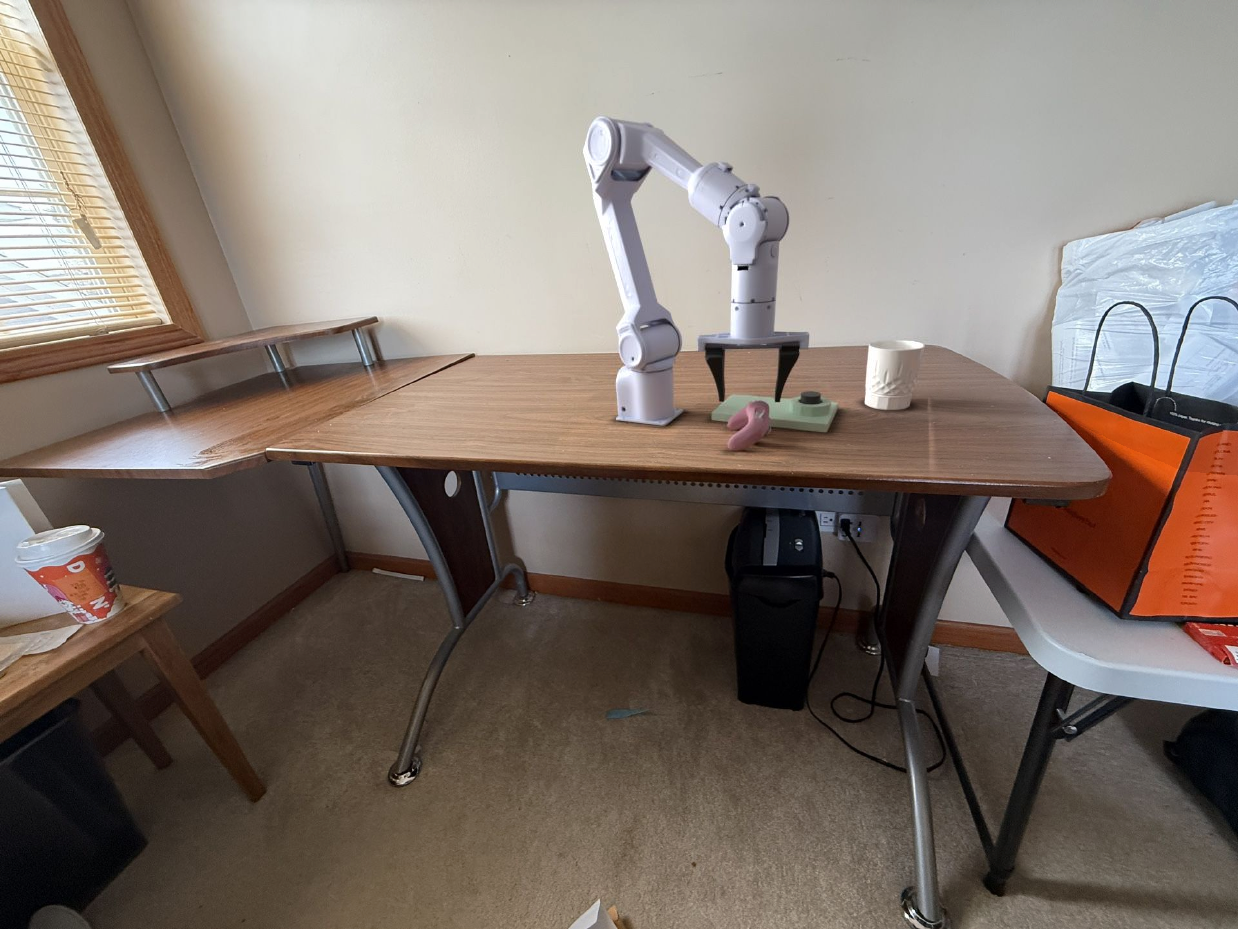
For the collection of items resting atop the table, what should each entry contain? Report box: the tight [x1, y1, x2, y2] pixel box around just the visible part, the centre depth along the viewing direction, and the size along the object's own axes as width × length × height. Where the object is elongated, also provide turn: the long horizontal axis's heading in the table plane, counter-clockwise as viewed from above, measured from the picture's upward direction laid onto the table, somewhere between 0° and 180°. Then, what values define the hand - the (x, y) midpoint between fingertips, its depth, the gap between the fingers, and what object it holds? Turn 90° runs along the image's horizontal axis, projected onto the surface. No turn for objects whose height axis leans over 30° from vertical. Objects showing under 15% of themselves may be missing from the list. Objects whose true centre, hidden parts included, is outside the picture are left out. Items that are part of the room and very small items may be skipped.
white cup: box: [864, 339, 926, 411], centre depth 79 cm, size 8×8×10 cm
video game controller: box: [726, 399, 772, 452], centre depth 70 cm, size 10×5×7 cm, turn 168°
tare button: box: [800, 390, 822, 405], centre depth 76 cm, size 3×3×2 cm
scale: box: [711, 393, 839, 433], centre depth 79 cm, size 18×11×3 cm, turn 60°
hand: (749, 400), depth 69 cm, fingers open, 7 cm apart
